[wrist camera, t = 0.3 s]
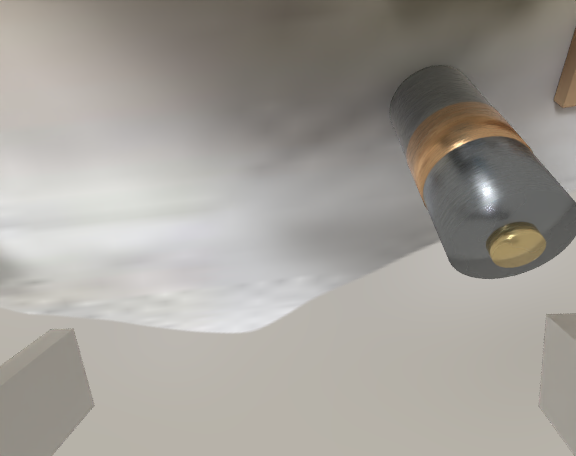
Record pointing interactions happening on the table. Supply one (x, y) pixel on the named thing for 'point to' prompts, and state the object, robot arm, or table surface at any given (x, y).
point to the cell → (479, 178)
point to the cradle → (568, 79)
